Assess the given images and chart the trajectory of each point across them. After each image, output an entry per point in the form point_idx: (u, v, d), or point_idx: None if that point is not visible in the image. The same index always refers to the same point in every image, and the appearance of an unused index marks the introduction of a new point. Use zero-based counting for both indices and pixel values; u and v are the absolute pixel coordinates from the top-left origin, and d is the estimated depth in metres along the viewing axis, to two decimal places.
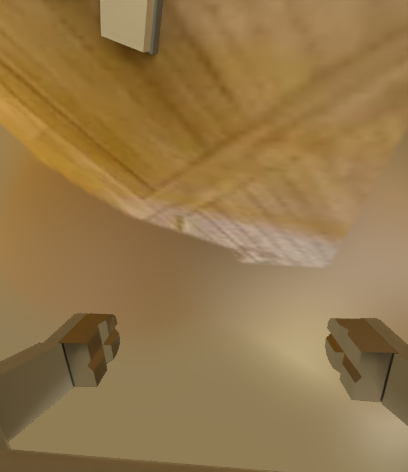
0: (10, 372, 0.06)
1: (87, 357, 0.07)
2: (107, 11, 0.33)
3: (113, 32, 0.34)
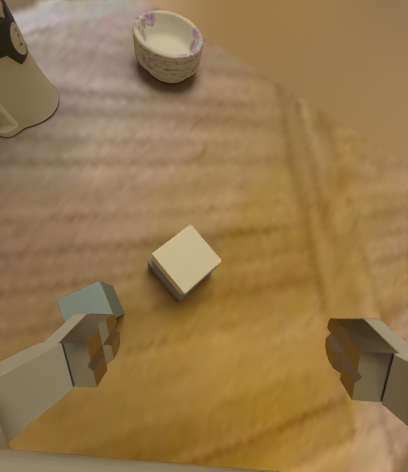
0: (10, 372, 0.06)
1: (87, 357, 0.07)
2: (175, 269, 0.28)
3: (191, 278, 0.28)
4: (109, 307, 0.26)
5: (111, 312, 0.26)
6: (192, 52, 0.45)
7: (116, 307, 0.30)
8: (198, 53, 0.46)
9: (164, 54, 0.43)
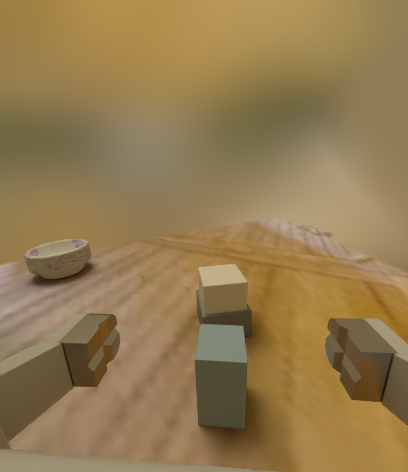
0: (10, 372, 0.06)
1: (87, 357, 0.07)
2: (225, 280, 0.33)
3: (237, 276, 0.34)
4: (231, 326, 0.24)
5: (236, 326, 0.24)
6: (85, 243, 0.60)
7: None
8: (88, 243, 0.62)
9: (68, 252, 0.54)
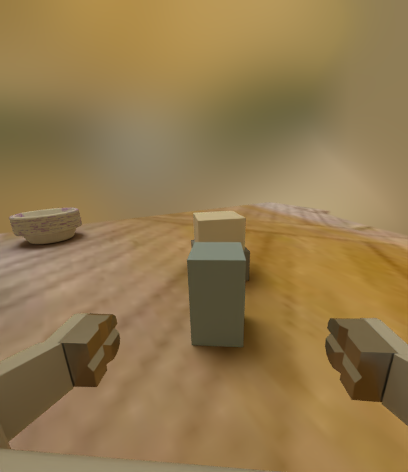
0: (10, 372, 0.06)
1: (87, 357, 0.07)
2: (221, 217, 0.31)
3: (235, 216, 0.32)
4: (227, 242, 0.22)
5: (233, 242, 0.22)
6: (75, 209, 0.58)
7: None
8: (78, 210, 0.59)
9: (56, 214, 0.52)
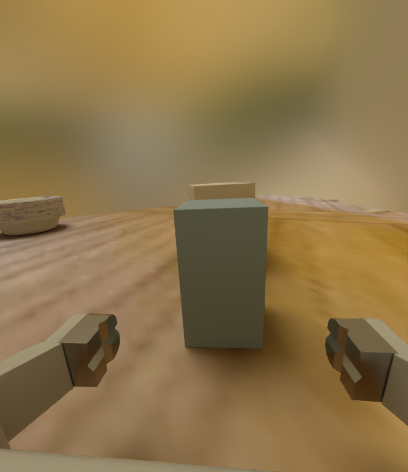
0: (10, 372, 0.06)
1: (87, 357, 0.07)
2: None
3: None
4: (234, 199, 0.16)
5: (243, 198, 0.16)
6: (56, 196, 0.51)
7: None
8: (61, 197, 0.53)
9: (33, 199, 0.45)
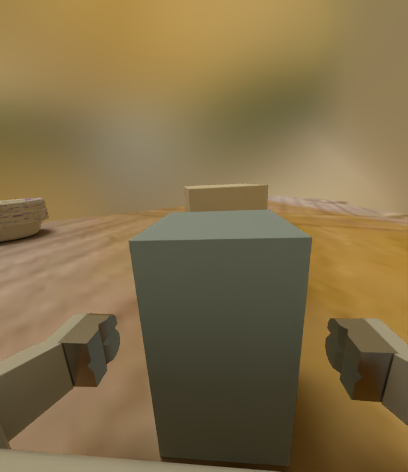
0: (10, 372, 0.06)
1: (87, 357, 0.07)
2: (228, 186, 0.19)
3: None
4: (241, 211, 0.10)
5: (254, 211, 0.10)
6: (37, 199, 0.46)
7: None
8: (43, 200, 0.47)
9: (7, 202, 0.40)
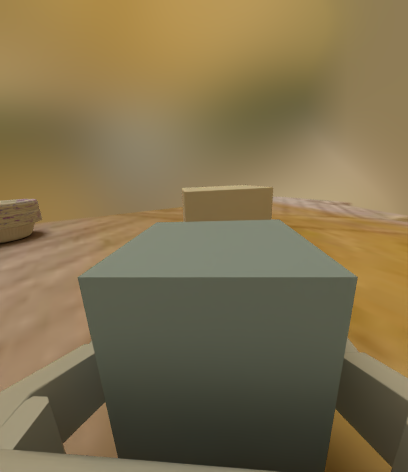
0: (63, 375, 0.05)
1: None
2: None
3: (251, 187, 0.18)
4: (243, 222, 0.08)
5: (260, 221, 0.08)
6: (29, 200, 0.44)
7: None
8: (36, 201, 0.45)
9: None
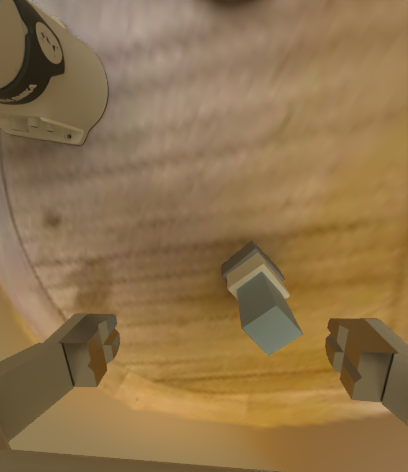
0: (10, 372, 0.06)
1: (87, 357, 0.07)
2: None
3: None
4: (294, 326, 0.24)
5: (298, 330, 0.24)
6: None
7: (285, 305, 0.28)
8: None
9: None
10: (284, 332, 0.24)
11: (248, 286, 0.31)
